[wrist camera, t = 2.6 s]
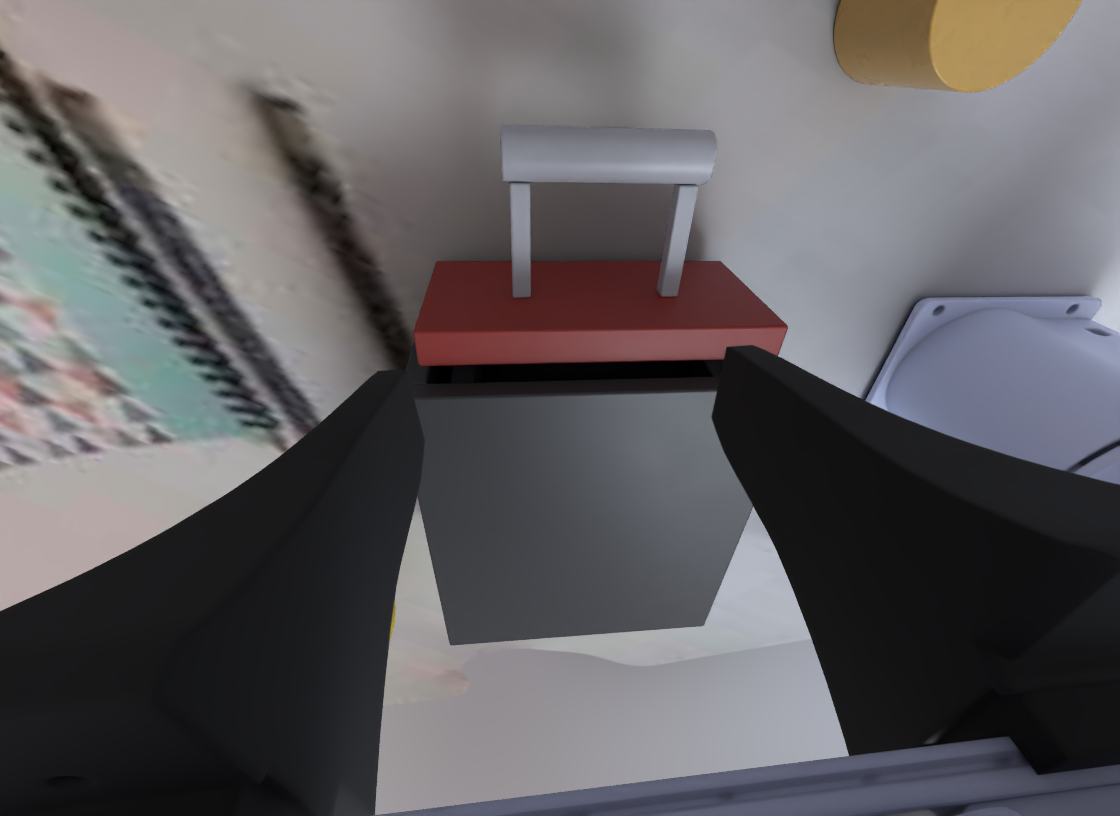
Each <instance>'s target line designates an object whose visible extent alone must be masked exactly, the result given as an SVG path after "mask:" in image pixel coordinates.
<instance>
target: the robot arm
mask: <svg viewBox="0 0 1120 816" xmlns="http://www.w3.org/2000/svg"><path fill="white" fill-rule="evenodd" d="M1101 303H1102V301H1101V300H1100V299H1098V298H1095V297H1092V296H1058V297H948V298H925V299H923V300H921V301H919V302H918V303H917V304H916V305H915V307H914V308H913V310H912V312H911V314H910V316H909V318H908V320H907V322H906V324H905V326H904V328H903V329H902V331H901V333H900V335H899V337H898V339H897V341H896V343H895V345H894V347H893V349H892V351H891V352H890V354H889V356H888V358H887V360H886V362H885V364H884V366H883V368H882V370H881V372H880V373H879V375H878V377H877V379H876V381H875V383H874V385H873V387H872V389H871V391H870V393H869V395H868V396H867V398H866V400H862V399H860V398H858V397H856V396H854V395H852V394H850V393H848V392H846V391H844V390H842V389H840V388H838V387H836V386H834V385H832V384H830V383H828V382H826V381H824V380H822V379H820V378H818V377H817V376H815V375H813V374H811V373H809V372H807V371H805V370H803V369H801V368H799V367H798V366H796V365H794V364H792V363H790V362H788V361H786V360H784V359H782V358H780V357H778V356H776V355H774V354H772V353H770V352H768V351H766V350H764V349H762V348H759V347H757V346H754V345H744V346H730V347H726V352H725V357H724V361H723V366H722V370H721V375H720V380H719V384H718V389H717V393H716V398H715V403H714V407H713V412H712V416H711V418H712V421H713V424H714V427H715V430H716V433H717V435H718V438H719V441H720V443H721V446H722V448H723V451H724V453H725V455H726V457H727V459H728V461H729V463H730V465H731V467H732V468H733V470H734V472H735V474H736V476H737V478H738V480H739V481H740V483H741V485H742V487H743V489H744V490H745V492H746V494H747V496H748V498H749V499H750V501H751V503H752V505H753V507H754V508H755V510H756V512H757V514H758V516H759V517H760V519H761V521H762V523H763V525H764V526H765V528H766V530H767V532H768V534H769V536H770V538H771V540H772V542H773V544H774V546H775V548H776V550H777V552H778V555H779V557H780V560H781V562H782V564H783V567H784V569H785V572H786V574H787V576H788V579H789V581H790V584H791V586H792V588H793V591H794V594H795V596H796V599H797V601H798V604H799V607H800V609H801V612H802V614H803V617H804V620H805V622H806V625H807V627H808V630H809V633H810V636H811V638H812V641H813V644H814V647H815V650H816V653H817V655H818V658H819V661H820V664H821V667H822V670H823V673H824V676H825V678H826V681H827V684H828V688H829V691H830V694H831V697H832V701H833V704H834V707H835V710H836V713H837V716H838V720H839V723H840V726H841V729H842V733H843V736H844V739H845V743H846V746H847V750H848V753H849V756H847V757H839V758H831V759H822V760H815V761H806V762H799V763H790V764H782V765H774V766H767V767H758V768H750V769H743V770H734V771H726V772H719V773H710V774H702V775H694V776H686V777H678V778H670V779H662V780H655V781H647V782H638V783H630V784H623V785H616V786H615V785H614V786H606V787H598V788H591V789H583V790H574V791H567V792H558V793H551V794H544V795H543V794H542V795H535V796H526V797H519V798H510V799H502V800H494V801H488V802H487V801H486V802H479V803H470V804H463V805H455V806H446V807H438V808H431V809H423V810H414V811H406V812H399V813H391V814H383V815H375V802H376V786H377V772H378V757H379V743H380V729H381V719H382V708H383V697H384V686H385V675H386V666H387V657H388V649H389V640H390V631H391V623H392V615H393V608H394V600H395V592H396V585H397V580H398V575H399V570H400V565H401V561H402V557H403V553H404V548H405V544H406V540H407V536H408V532H409V528H410V524H411V520H412V516H413V512H414V507H415V503H416V499H417V495H418V491H419V486H420V482H421V476H422V467H423V457H424V445H425V438H424V435H423V431H422V427H421V423H420V419H419V416H418V412H417V408H416V404H415V400H414V397H413V393H412V389H411V385H410V381H409V378H408V374H407V370H406V369H400V370H386V371H378V372H376V373H375V374H374V375H373V376H371V377H370V378H369V379H368V380H367V381H366V382H365V383H364V384H362V385H361V386H360V387H359V388H358V389H357V390H356V391H355V392H354V393H353V394H352V395H351V396H350V397H348V398H347V399H346V400H345V401H344V402H343V403H342V404H341V405H340V406H339V407H338V408H336V409H335V410H334V411H333V412H332V413H331V414H330V415H329V416H328V417H327V418H325V419H324V420H323V421H322V422H321V423H320V424H319V425H318V426H316V427H315V428H314V429H313V430H312V431H310V432H309V433H308V434H307V435H305V436H304V437H303V438H302V439H301V440H299V441H298V442H297V443H296V444H295V445H293V446H292V447H291V448H290V449H289V450H287V451H286V452H285V453H284V454H282V455H281V456H280V457H279V458H277V459H276V460H275V461H273V462H272V463H271V464H269V465H268V466H267V467H265V468H264V469H262V470H261V471H260V472H258V473H257V474H255V475H254V476H252V477H251V478H250V479H248V480H247V481H245V482H244V483H242V484H241V485H239V486H238V487H236V488H235V489H234V490H232V491H230V492H229V493H227V494H226V495H224V496H223V497H221V498H219V499H218V500H216V501H214V502H213V503H211V504H209V505H208V506H206V507H204V508H203V509H201V510H199V511H198V512H196V513H194V514H193V515H191V516H189V517H188V518H186V519H184V520H183V521H181V522H179V523H178V524H176V525H174V526H173V527H171V528H169V529H168V530H166V531H164V532H162V533H160V534H159V535H157V536H155V537H153V538H151V539H149V540H147V541H146V542H144V543H142V544H140V545H138V546H136V547H134V548H133V549H131V550H129V551H127V552H125V553H123V554H121V555H119V556H117V557H115V558H113V559H111V560H109V561H107V562H105V563H103V564H101V565H99V566H97V567H95V568H93V569H91V570H89V571H87V572H85V573H83V574H81V575H79V576H77V577H75V578H73V579H70V580H68V581H66V582H64V583H62V584H59V585H57V586H55V587H53V588H51V589H48V590H46V591H44V592H42V593H40V594H37V595H35V596H33V597H31V598H29V599H26V600H24V601H22V602H20V603H18V604H15V605H13V606H11V607H9V608H6V609H4V610H2V611H0V816H1120V333H1118V332H1116V331H1114V330H1112V329H1110V328H1107V327H1105V326H1103V325H1101V324H1099V323H1096V322H1094V321H1092V320H1091V319H1092V317H1093V316H1094V315H1095V314H1096V312H1097V311H1098V310H1099V308H1100V307H1101ZM935 308H937V309H936V310H935Z"/></svg>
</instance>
